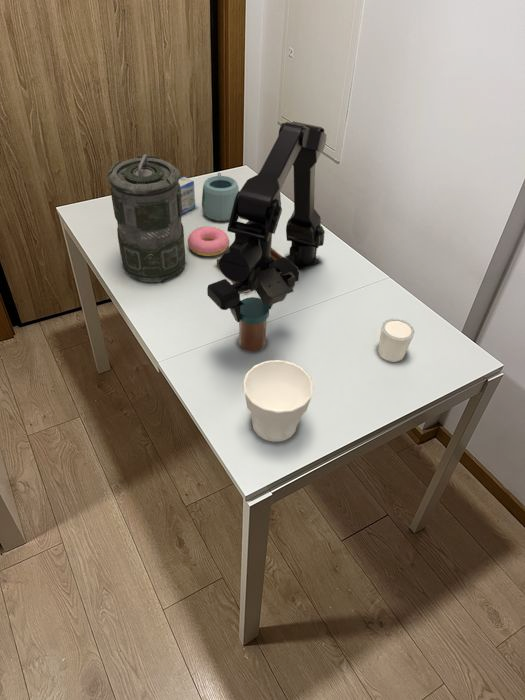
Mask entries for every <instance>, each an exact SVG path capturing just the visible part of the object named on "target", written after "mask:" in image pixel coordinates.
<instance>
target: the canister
mask: <svg viewBox="0 0 525 700" xmlns="http://www.w3.org/2000/svg"><path fill="white" fill-rule="evenodd" d="M180 176H181V175H180V170H179V169H178V167H177V166H176V165H174V164H173V163H170V162H169V161H166V160H163V159H162V158H161V157H160V156H153V155H147V154H146V153H144V154H143V155H137V156H136V157H134V158H129V159H127V160H124V161H122V160H119V161H117V162H115V163H114V164H113V165H112V166H110V168H109V170H108V173H107V178H108V183H109V185H110V197H111V201H112V208H113V213H114V214H113V215H114V218H115V220H116V223H117V229H116V231H117V241H118V248H119V253H120V259H121V263H122V268H123V270H124V271H125V272H126V274H128V275H129V276H131V277H132V278H135V279H137V280H138V281H140V282H146V283H159V282H162V280H167V279H170V278H172V277H174V276H178V275H179V274H180V273H181V272H182V271H183V270H184V269H185V266H186V248H185V247H186V246H185V233H184V231H185V230H184V225H183V222H182V216H183V214H182V201H181V187H180V184H179V182H178V181H179V179H180V178H181V177H180Z"/></svg>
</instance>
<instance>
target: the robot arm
mask: <svg viewBox="0 0 525 700" xmlns="http://www.w3.org/2000/svg"><path fill="white" fill-rule="evenodd" d="M325 132H326V131H325V128H323V127H322V126H319V125H314V124H309V123H304V122H299V121H292V122H291V121H290V122H289V121H285V122H282V123H281V124H280V127H279V129H278V134H277V138H276V140H275V142H274V144H273V145H272V148H271V149H270V151H269V153H268V155H267V157H266V159H265V161H264V163H263V165H262V167H261V168H260V170H259V172H258V174H256V175H254V176H252V177H250V178H248V179H247V180H246V181H245V183H244V184H243V186H242V187H241V189H240V190H239V192H238V193H237V195H236V197H235V201H234V205H233V209H232V213H231V217H230V220H228V225H227V228H226V229H227V230H226V231H227V232H229V233H232V234H234V240H233V242H232V243H231V244H230V246H228V247H227V249H226V250H225V251H224V252H223V253H222V255H221V257H220V258H219V259H220V261H219V267H220V268H219V270H220V272H221V273H222V274H223V276H224V277H226V278H227V279H228V280H230V281H232V282H233V281H236V282H238V283H233V284H232V283H231V282H230V281H228V280H227V279H226V278H223V279H220V280H218V281H215V282H212V283H210V284H208V285H207V288H206V290H207V291H206V292H207V297H208V298H209V299H211V301H212V302H213V303H214V304H215V305H216V306H217V307H218V308H219V309H220V310H223V311H227V310H230V312H231V314H232V316H233V318H234V320H235V321H236V322H237V323H239V322H240V306H241V305H244V303H243V302H242V301H241V295H242V294H246V293H248V292H247V291H249V292H253V291H255V292H256V294H257V295H258V297H259V298H260V299H262V302H263V303H264V304H265V305H266V306H269V311H270V310H271V309H272V307H273V305H275V304H277V303H279V302H283V301H284V300H285V299H286V297H287V295H288V294H291V293H293V292H294V287H295V286H296V282H297V283H298V282H299V281H300V270H304V269H306V268H309V267H312V266H315V265H317V264H319V263H320V260H319V259H318V258H317V250H318V249H319V247H323V246H324V242H325V230H324V227H323V225H322V222H321V215H320V214H319V213H318V212H317V210H316V209H315V192H316V191H315V190H316V189H315V187H316V163H317V162H318V160H319V158H320V157H321V154H322V153H323V152H324V150H325V147H326V143H327V133H325ZM292 168H293V212H292V214H291V216H290V217H289V219H288V220H287V222H286V228H285V236H286V241H288V242H291V243H290V244H291V246H289V254H287V255H286V256H282V257H283V258H280V259H277V260H275V261H274V259H273V258H272V257H271V248H272V241H273V240H272V239H273V235H275V234H276V231H277V227H278V225H279V221H280V218H281V215H282V212H283V208H282V200H281V190H282V188H283V185H284V184H285V182H286V180H287V177H288V175H289V173H290V172H291V169H292ZM239 219H241V220H245V221H247V222H241V221H238V220H239ZM240 281H241V282H240ZM250 290H251V291H250ZM245 292H246V293H245Z"/></svg>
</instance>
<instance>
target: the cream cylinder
mask: <svg viewBox="0 0 525 700" xmlns="http://www.w3.org/2000/svg"><path fill="white" fill-rule="evenodd" d="M380 328H381V329H380V336H379V343H378V348H377V349H378V350H377V351H378V355H379V356H380V357H381V358H382V359H383V360H385V361H388V362H392V363H393V362H395V363H396V362H397V363H398V362H399V361H402V360H403V359H404V357H405V355H406V353H407V351H408V349H409V346H410V345H411V342H412V340H413V337H414V335H415V329H414V326H413V325H412V324H411V323H409V322H407V321H406V320H403V319H400V318H389V319H386V320H385V321H384V322H382V324H381V327H380Z"/></svg>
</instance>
